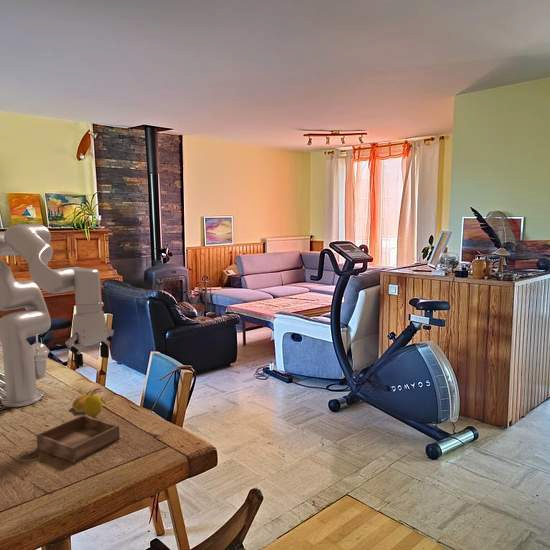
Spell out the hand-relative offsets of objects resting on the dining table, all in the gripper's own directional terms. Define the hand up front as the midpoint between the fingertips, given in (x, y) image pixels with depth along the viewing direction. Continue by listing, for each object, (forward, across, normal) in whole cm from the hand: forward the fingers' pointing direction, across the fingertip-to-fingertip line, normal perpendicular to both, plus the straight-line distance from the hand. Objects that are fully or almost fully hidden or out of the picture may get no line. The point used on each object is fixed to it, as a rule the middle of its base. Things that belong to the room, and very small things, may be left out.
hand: (92, 361), depth 152 cm
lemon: (+19, 0, -1) cm, 19 cm away
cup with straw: (+19, -16, -53) cm, 59 cm away
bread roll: (+20, -4, -10) cm, 22 cm away
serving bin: (+19, +14, +10) cm, 25 cm away
